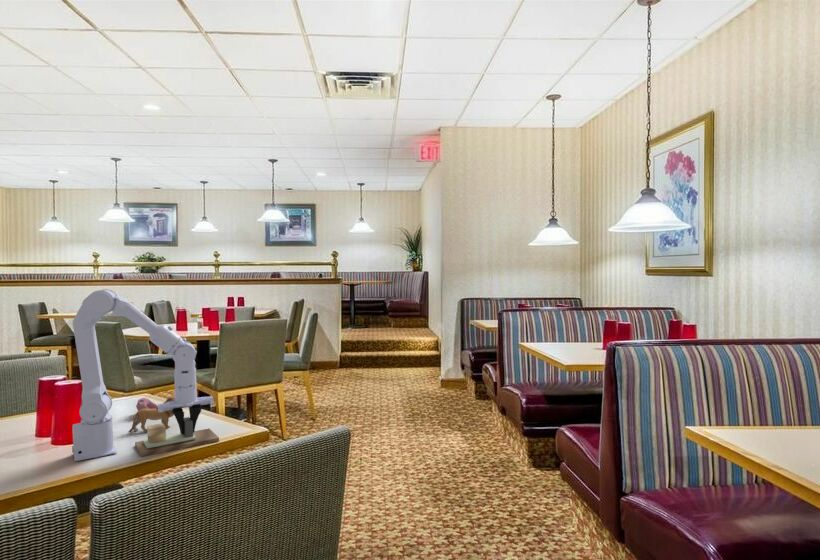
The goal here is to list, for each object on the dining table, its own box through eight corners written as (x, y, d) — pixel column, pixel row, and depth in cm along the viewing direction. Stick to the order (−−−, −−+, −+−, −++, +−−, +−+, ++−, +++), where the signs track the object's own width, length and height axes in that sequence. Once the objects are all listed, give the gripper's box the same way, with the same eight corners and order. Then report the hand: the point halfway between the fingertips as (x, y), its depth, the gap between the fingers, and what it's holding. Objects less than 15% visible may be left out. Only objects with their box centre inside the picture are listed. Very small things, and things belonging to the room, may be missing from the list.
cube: (150, 444, 145) (149, 429, 145) (147, 440, 148) (147, 425, 148) (166, 440, 147) (165, 426, 147) (163, 437, 150) (162, 423, 150)
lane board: (141, 456, 141) (140, 453, 140) (135, 445, 150) (135, 442, 150) (219, 441, 152) (219, 437, 152) (209, 431, 161) (209, 428, 161)
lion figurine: (176, 422, 172) (175, 394, 172) (182, 425, 168) (181, 397, 168) (126, 432, 163) (125, 402, 162) (130, 436, 159) (129, 406, 158)
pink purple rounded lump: (147, 415, 186) (137, 399, 185) (160, 408, 187) (149, 391, 186) (142, 423, 177) (131, 405, 176) (156, 416, 178) (145, 398, 177)
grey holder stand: (146, 448, 143) (146, 429, 143) (143, 441, 149) (142, 423, 149) (196, 438, 150) (195, 421, 150) (190, 432, 156) (189, 415, 156)
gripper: (160, 391, 144) (162, 441, 145) (215, 383, 153) (217, 431, 153) (155, 387, 150) (157, 435, 151) (209, 379, 158) (211, 425, 159)
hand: (187, 432), depth 152 cm, fingers closed on grey holder stand, 2 cm apart
